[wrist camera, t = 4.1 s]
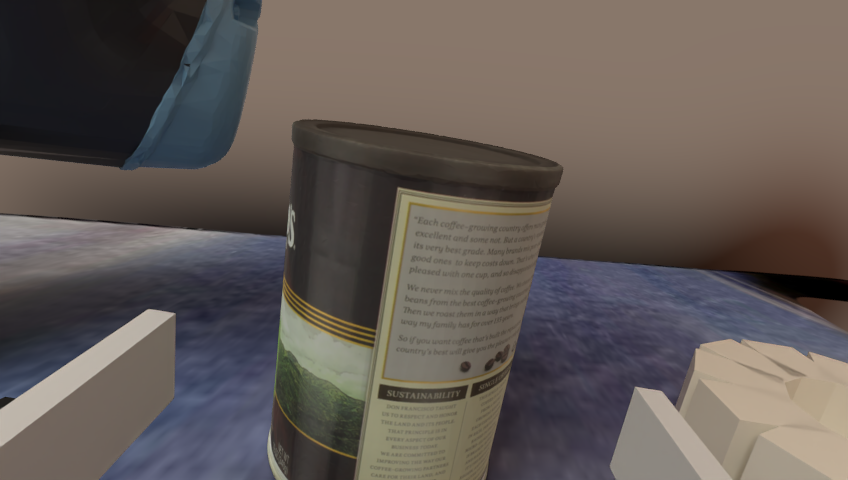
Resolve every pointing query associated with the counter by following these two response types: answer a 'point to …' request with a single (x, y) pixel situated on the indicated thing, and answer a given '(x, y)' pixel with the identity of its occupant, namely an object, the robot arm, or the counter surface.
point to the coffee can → (401, 301)
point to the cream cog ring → (768, 410)
